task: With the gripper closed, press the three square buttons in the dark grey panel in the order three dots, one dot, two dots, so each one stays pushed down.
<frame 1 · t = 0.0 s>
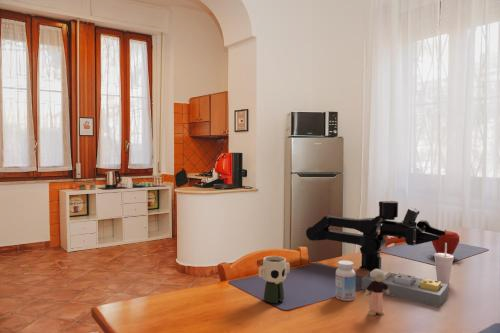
hand: (442, 235, 138), 17 cm above the table, tool horizontal, fingers open, 9 cm apart
pill bottle: (345, 298, 124), on the table
apple: (444, 256, 172), on the table
character mug: (274, 301, 121), on the table
button panel: (404, 291, 129), on the table
smoothie: (442, 283, 139), on the table
button two: (404, 280, 129), point 4 cm above the table, slide at 0.0 cm
grandmother figurine: (377, 313, 112), on the table
button one: (380, 275, 134), point 4 cm above the table, slide at 0.0 cm
button three: (430, 285, 124), point 4 cm above the table, slide at 0.0 cm
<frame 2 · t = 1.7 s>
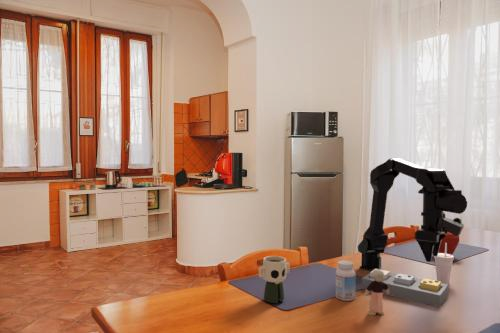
hand: (432, 258, 124), 12 cm above the table, tool pointing down, fingers open, 8 cm apart
nothing on the table moved.
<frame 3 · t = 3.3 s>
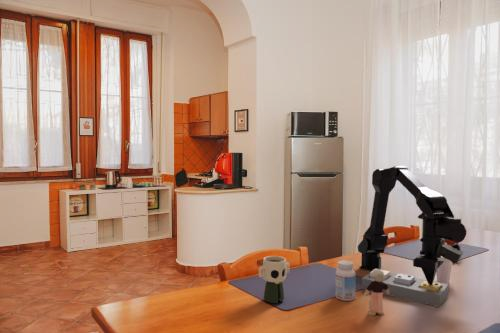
hand: (430, 284, 124), 4 cm above the table, tool pointing down, fingers closed, pressing on button three
button three: (430, 288, 124), point 3 cm above the table, slide at 0.9 cm, touching gripper
everything else where it was.
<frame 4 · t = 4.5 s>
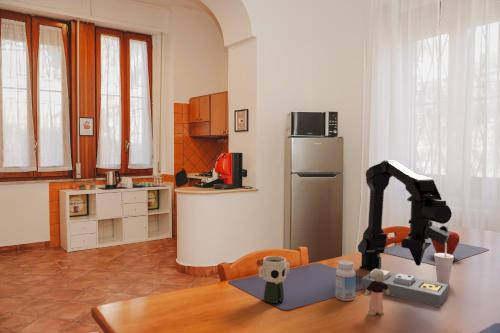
hand: (418, 265, 126), 9 cm above the table, tool pointing down, fingers closed
button three: (430, 290, 124), point 2 cm above the table, slide at 1.5 cm, touching button panel
everything else where it was.
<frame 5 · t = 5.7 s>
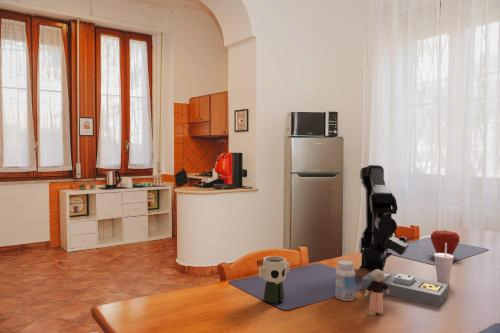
hand: (380, 274, 134), 4 cm above the table, tool pointing down, fingers closed, pressing on button one
button one: (380, 278, 134), point 3 cm above the table, slide at 1.1 cm, touching gripper
everything else where it was.
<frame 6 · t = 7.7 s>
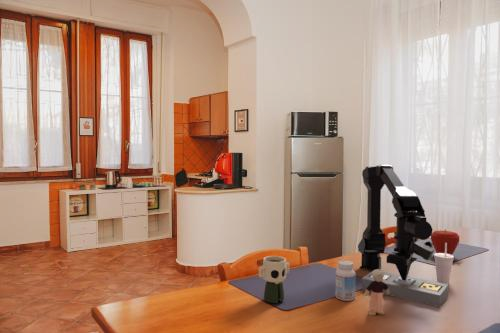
hand: (404, 279, 129), 4 cm above the table, tool pointing down, fingers closed, pressing on button two
button two: (404, 283, 129), point 3 cm above the table, slide at 1.1 cm, touching gripper
button one: (380, 279, 134), point 2 cm above the table, slide at 1.5 cm, touching button panel
everything else where it was.
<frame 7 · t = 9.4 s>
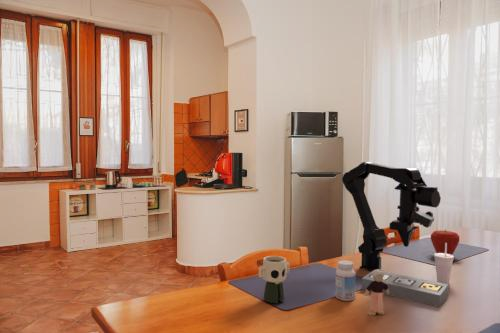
hand: (406, 246, 142), 12 cm above the table, tool pointing down, fingers closed
button two: (404, 284, 129), point 2 cm above the table, slide at 1.5 cm
everything else where it was.
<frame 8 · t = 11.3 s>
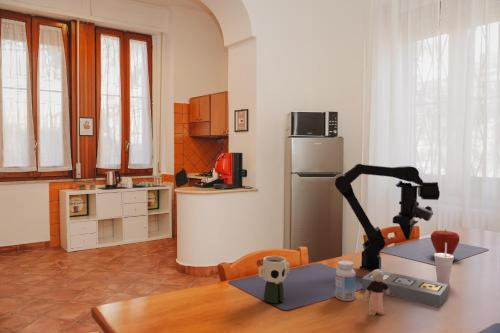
hand: (407, 239, 151), 12 cm above the table, tool pointing down, fingers closed
nothing on the table moved.
at the end: button three slide at 1.5 cm; button one slide at 1.5 cm; button two slide at 1.5 cm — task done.
